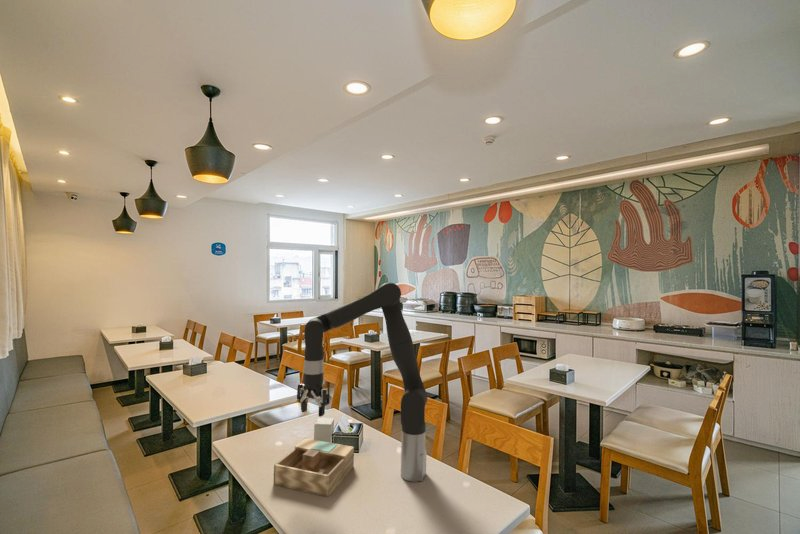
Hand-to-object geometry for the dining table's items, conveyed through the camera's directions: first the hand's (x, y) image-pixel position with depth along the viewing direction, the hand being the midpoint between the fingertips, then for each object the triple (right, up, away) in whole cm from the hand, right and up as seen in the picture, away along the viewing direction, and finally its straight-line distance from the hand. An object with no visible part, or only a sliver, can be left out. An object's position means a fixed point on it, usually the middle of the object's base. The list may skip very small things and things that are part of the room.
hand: (312, 413), depth 137 cm
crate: (+1, -23, 0) cm, 23 cm away
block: (0, -21, -4) cm, 21 cm away
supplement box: (0, -24, +19) cm, 31 cm away
